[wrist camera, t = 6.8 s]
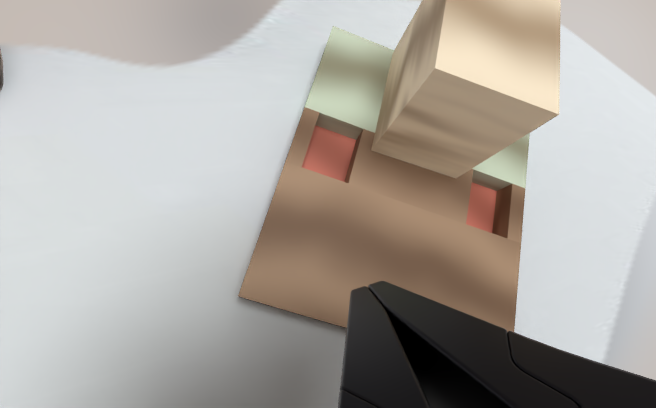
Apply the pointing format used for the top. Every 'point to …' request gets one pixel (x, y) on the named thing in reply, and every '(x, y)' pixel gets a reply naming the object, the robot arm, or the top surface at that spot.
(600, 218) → the top surface
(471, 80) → the maple block
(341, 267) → the board
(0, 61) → the lighter
